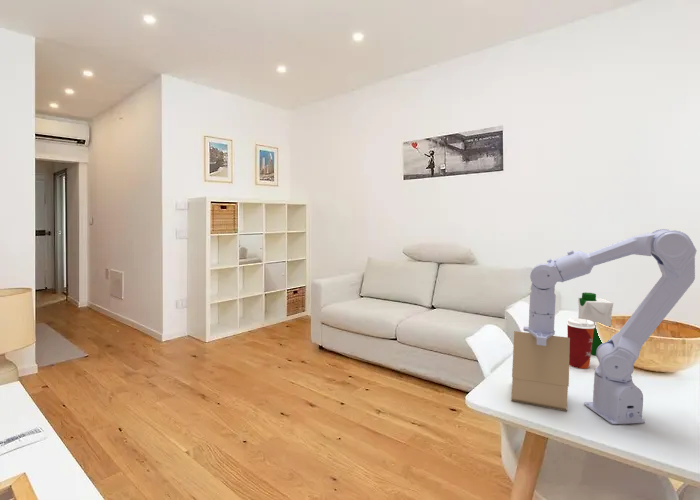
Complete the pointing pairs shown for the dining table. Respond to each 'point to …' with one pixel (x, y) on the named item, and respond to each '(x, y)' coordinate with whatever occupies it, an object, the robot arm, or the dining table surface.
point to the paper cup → (580, 342)
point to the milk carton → (595, 314)
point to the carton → (539, 394)
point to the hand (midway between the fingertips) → (539, 365)
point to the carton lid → (541, 359)
